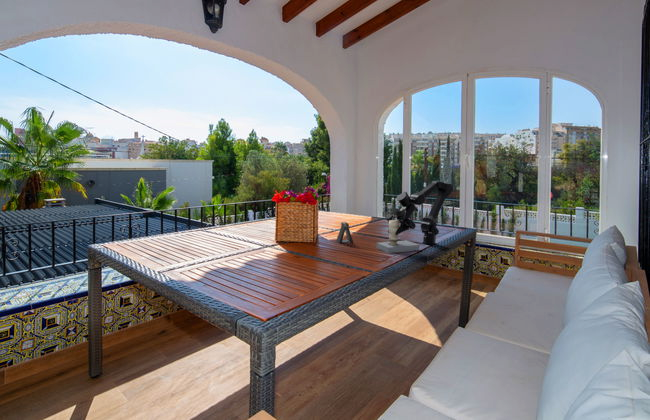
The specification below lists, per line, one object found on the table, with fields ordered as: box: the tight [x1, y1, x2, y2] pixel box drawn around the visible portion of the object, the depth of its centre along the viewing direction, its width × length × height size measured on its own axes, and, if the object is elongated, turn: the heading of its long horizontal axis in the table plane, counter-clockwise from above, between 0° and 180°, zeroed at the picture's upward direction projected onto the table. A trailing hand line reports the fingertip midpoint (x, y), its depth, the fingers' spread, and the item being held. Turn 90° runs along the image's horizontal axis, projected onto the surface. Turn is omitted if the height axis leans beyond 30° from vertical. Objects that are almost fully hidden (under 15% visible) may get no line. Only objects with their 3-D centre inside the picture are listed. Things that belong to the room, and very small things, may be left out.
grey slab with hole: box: [376, 240, 420, 254], centre depth 197 cm, size 20×12×3 cm, turn 112°
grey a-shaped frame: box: [336, 221, 354, 244], centre depth 213 cm, size 9×6×12 cm, turn 104°
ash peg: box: [387, 220, 400, 246], centre depth 195 cm, size 6×6×14 cm
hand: (392, 233), depth 194 cm, fingers closed on ash peg, 6 cm apart
